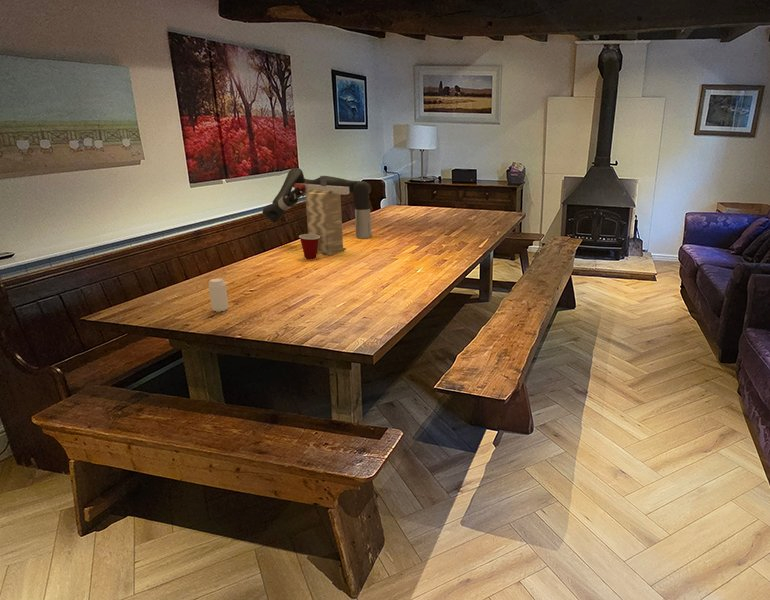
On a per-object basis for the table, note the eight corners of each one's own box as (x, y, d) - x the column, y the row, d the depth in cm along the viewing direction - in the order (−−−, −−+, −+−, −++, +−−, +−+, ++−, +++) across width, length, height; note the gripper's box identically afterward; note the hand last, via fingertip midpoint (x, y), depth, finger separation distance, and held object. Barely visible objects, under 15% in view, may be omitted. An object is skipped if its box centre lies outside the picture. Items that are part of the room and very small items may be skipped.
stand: (306, 252, 292) (302, 190, 281) (324, 247, 302) (320, 187, 292) (328, 255, 282) (325, 192, 272) (345, 250, 293) (342, 189, 283)
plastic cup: (317, 261, 273) (316, 237, 269) (297, 260, 275) (295, 237, 271) (324, 256, 283) (322, 233, 279) (304, 255, 285) (303, 233, 281)
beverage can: (208, 312, 202) (204, 282, 198) (216, 307, 208) (212, 277, 204) (224, 313, 201) (220, 282, 197) (231, 307, 207) (227, 277, 203)
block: (294, 191, 292) (293, 174, 289) (299, 190, 295) (298, 174, 292) (344, 195, 271) (343, 177, 268) (349, 194, 274) (349, 176, 271)
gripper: (275, 196, 294) (292, 182, 283) (294, 193, 305) (311, 180, 294) (281, 208, 294) (298, 195, 283) (299, 205, 305) (316, 192, 294)
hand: (304, 187), depth 289 cm, fingers open, 8 cm apart
